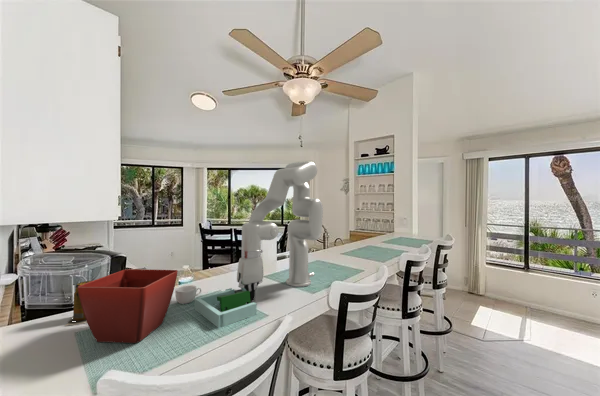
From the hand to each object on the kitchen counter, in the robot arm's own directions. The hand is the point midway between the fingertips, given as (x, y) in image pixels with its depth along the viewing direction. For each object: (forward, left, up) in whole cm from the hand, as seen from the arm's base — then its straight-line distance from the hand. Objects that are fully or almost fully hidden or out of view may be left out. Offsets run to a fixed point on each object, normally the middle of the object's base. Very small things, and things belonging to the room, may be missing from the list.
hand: (250, 299), depth 103 cm
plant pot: (+40, -5, -1) cm, 40 cm away
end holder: (+12, +1, -1) cm, 12 cm away
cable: (+4, -11, -1) cm, 12 cm away
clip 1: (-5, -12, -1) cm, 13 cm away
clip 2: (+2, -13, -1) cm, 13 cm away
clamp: (+8, 0, -1) cm, 8 cm away
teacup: (+18, -18, -1) cm, 25 cm away
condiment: (+50, -26, -1) cm, 56 cm away
